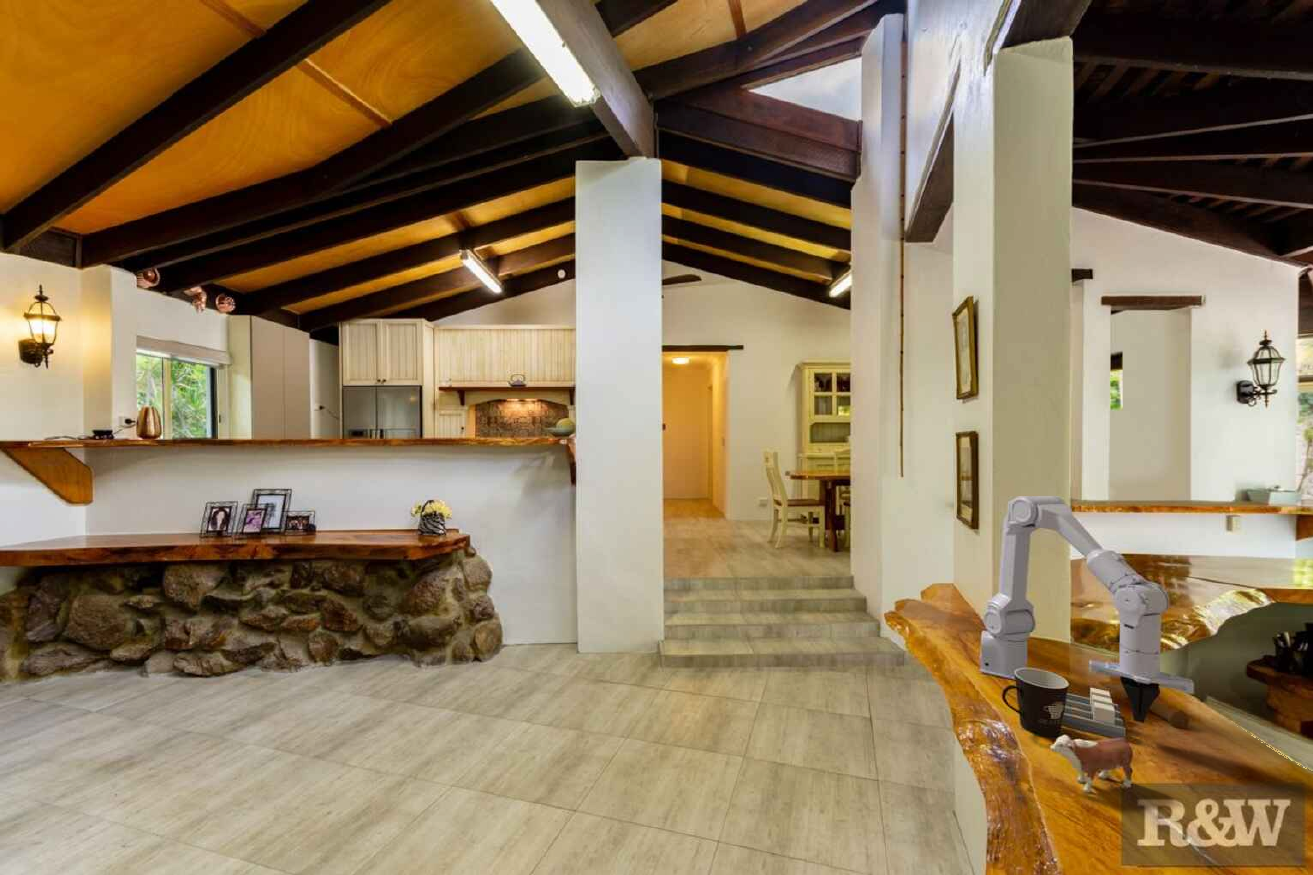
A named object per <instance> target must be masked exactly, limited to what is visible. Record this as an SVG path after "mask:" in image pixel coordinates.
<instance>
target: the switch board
mask: <svg viewBox="0 0 1313 875" xmlns="http://www.w3.org/2000/svg"><path fill="white" fill-rule="evenodd" d="M1112 706H1113V707H1114V710H1115V725H1111V724H1107V723H1103V722H1098V721H1094V720H1093V713H1092V705H1090V697H1086V696H1082V695H1079V694H1078V695H1076V694H1074V693H1073V694H1072V693H1068V692H1067V697H1066V703H1065V710H1064V716H1063V722H1062V726H1063V727H1064V726H1065V727H1068V728H1072V729H1076V730H1081V731H1084V732H1088V733H1092V734H1095V735H1100V736H1104V737H1108V738H1110V739H1114V738H1117V739H1118V738H1124V739H1126V732H1127V731H1126V727H1124V720H1123V719H1122V718H1121V716H1122V715H1121V711H1119V705H1118V704H1117V703H1113V704H1112Z"/></svg>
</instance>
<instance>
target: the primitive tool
mask: <svg viewBox="0 0 1313 875" xmlns="http://www.w3.org/2000/svg"><path fill="white" fill-rule="evenodd" d="M1097 684H1099V685H1100V686H1102V687H1104V688H1105V689H1108V690H1109V691H1112V692H1114V693H1116V694H1117V695H1120V696H1121V697H1123V698H1124V699H1127V700H1129V698H1128V696H1127V694H1126V692H1125V690H1124V688H1123V686H1122V683H1121V680H1113V681H1097ZM1148 711H1150V712H1152V713H1154V714H1155V715H1157V716H1158V717H1161V718H1162V719H1164V720H1166V721H1167V722H1169V723H1170V725H1171V726H1172V727H1174V728H1178V729H1185V728H1187V727H1188V726H1189V723H1190V721H1191V720H1190V717H1189V716H1188V715H1189V714H1187V713H1186V712H1185V711H1183V710H1180V709H1179V710H1176V709H1174V708H1172V707H1169V706H1167V705H1164V704H1163V703H1161V702H1158V700H1155V701H1154V702H1153V703H1152V705H1151V706H1150V708H1149V710H1148Z"/></svg>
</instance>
